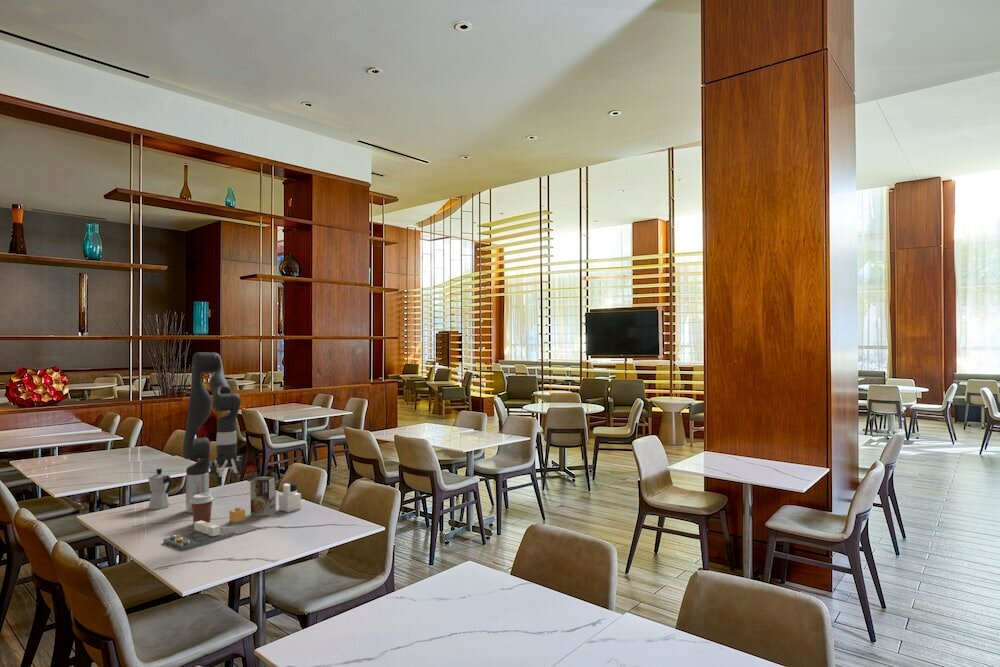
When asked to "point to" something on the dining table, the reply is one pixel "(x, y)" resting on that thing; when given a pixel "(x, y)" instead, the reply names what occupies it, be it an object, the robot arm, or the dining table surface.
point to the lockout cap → (237, 515)
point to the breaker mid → (205, 527)
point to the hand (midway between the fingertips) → (226, 483)
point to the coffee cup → (202, 507)
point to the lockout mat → (243, 529)
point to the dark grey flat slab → (195, 539)
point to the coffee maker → (159, 490)
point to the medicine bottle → (289, 498)
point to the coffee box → (263, 496)
